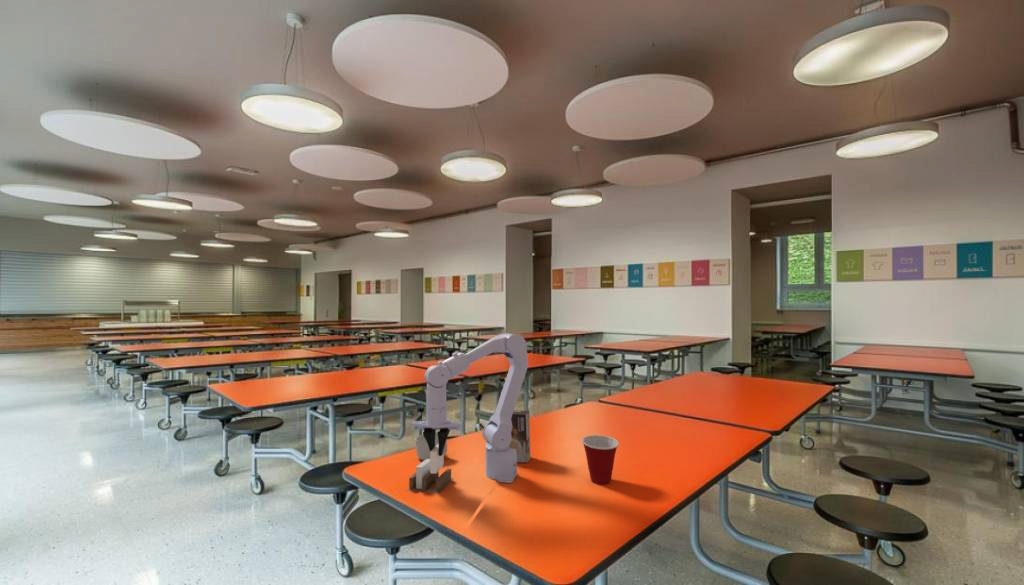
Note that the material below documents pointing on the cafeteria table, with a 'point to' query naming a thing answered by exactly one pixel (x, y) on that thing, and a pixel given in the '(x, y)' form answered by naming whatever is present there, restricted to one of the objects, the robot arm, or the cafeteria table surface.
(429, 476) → the rack
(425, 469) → the racked plate
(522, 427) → the coffee box
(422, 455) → the teacup
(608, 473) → the plastic cup
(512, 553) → the cafeteria table surface
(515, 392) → the robot arm
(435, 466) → the white upright slab
